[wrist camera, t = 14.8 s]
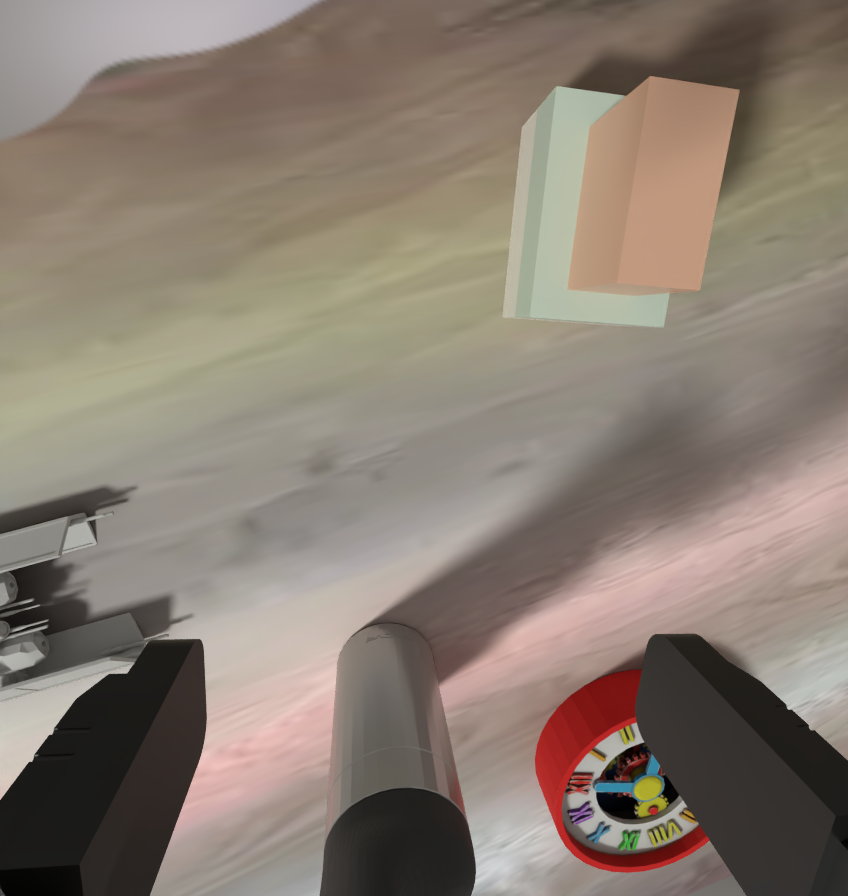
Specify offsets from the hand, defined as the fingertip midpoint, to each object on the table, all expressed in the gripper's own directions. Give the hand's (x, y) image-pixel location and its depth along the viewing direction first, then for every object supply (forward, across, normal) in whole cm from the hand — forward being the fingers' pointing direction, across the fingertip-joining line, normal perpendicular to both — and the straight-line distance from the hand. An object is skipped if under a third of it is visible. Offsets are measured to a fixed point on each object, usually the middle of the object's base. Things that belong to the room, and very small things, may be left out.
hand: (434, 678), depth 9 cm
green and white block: (+34, -15, -14) cm, 40 cm away
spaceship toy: (+35, +29, +19) cm, 49 cm away
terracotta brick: (+27, -15, -14) cm, 34 cm away
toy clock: (+35, -29, +37) cm, 58 cm away
